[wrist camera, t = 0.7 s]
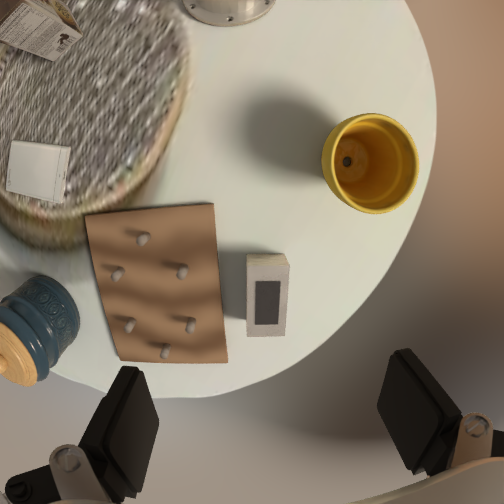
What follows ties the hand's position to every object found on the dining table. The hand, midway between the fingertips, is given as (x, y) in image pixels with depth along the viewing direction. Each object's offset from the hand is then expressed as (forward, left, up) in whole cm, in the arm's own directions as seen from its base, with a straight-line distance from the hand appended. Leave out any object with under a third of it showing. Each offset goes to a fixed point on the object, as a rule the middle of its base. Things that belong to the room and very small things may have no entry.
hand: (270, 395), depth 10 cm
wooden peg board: (+9, -13, -29) cm, 33 cm away
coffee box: (-32, -27, -29) cm, 51 cm away
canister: (+12, -34, -29) cm, 47 cm away
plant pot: (-8, +13, -29) cm, 33 cm away
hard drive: (-11, -31, -30) cm, 44 cm away
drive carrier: (+9, +2, -29) cm, 30 cm away
